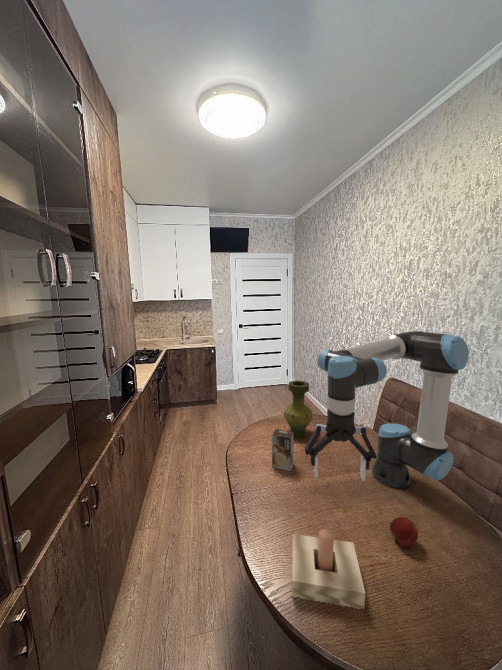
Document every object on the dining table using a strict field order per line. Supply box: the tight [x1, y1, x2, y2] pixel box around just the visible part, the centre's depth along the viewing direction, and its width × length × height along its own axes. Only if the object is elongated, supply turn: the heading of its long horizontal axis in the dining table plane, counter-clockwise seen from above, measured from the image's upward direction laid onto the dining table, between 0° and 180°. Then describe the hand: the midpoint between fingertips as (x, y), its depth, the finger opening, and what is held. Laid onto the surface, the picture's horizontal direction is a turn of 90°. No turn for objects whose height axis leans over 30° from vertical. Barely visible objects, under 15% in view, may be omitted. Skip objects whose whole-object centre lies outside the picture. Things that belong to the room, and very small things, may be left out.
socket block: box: [291, 533, 366, 609], centre depth 75 cm, size 18×14×5 cm
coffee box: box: [271, 428, 295, 472], centre depth 124 cm, size 9×6×16 cm
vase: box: [283, 380, 313, 439], centre depth 151 cm, size 16×16×30 cm
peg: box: [316, 528, 335, 572], centre depth 75 cm, size 4×4×13 cm
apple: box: [389, 516, 419, 547], centre depth 85 cm, size 7×8×8 cm
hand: (338, 476), depth 81 cm, fingers open, 13 cm apart
